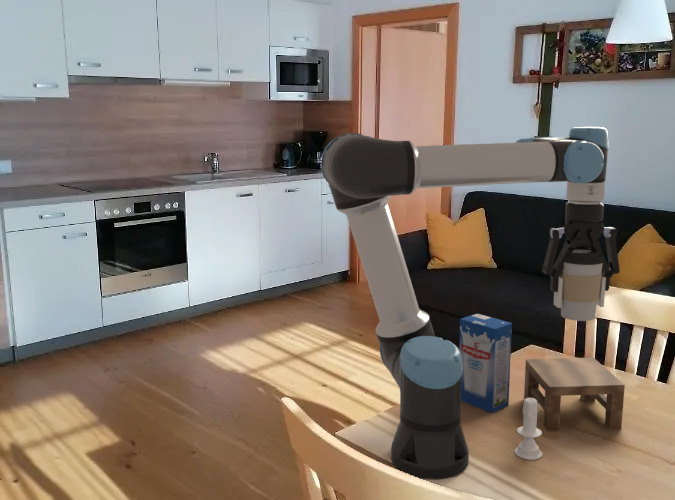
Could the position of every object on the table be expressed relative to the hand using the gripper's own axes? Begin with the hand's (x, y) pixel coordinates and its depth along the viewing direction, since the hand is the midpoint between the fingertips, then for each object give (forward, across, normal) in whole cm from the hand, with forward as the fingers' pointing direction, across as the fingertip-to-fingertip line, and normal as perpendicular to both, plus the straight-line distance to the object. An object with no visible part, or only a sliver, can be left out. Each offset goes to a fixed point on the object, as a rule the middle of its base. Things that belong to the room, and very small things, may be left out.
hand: (578, 305), depth 145 cm
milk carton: (+26, -18, +7) cm, 32 cm away
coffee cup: (+3, 0, 0) cm, 3 cm away
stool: (+25, 0, 0) cm, 25 cm away
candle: (+26, -15, -17) cm, 34 cm away
